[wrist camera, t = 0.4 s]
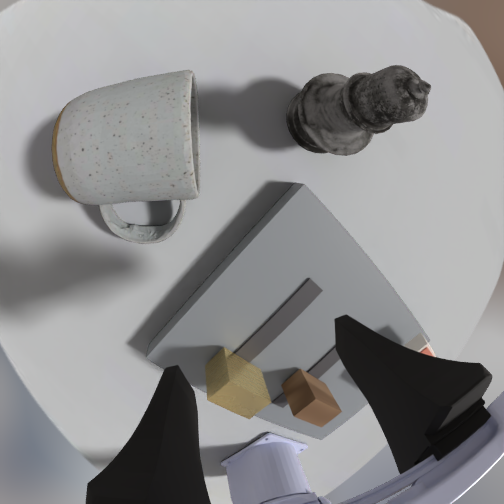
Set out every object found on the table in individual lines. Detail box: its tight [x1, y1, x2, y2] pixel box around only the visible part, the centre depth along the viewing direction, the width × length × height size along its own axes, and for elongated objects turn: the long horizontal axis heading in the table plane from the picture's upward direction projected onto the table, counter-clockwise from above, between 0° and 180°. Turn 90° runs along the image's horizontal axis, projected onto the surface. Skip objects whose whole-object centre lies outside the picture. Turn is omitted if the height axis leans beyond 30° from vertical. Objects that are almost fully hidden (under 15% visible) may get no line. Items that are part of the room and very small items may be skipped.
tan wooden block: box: [205, 347, 271, 419], centre depth 19 cm, size 2×4×4 cm, turn 47°
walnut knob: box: [281, 369, 342, 428], centre depth 21 cm, size 2×4×4 cm, turn 47°
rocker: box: [404, 333, 436, 357], centre depth 23 cm, size 7×5×2 cm
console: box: [146, 183, 430, 440], centre depth 22 cm, size 18×24×5 cm
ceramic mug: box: [52, 70, 200, 244], centre depth 14 cm, size 11×8×8 cm
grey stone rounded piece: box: [287, 65, 431, 156], centre depth 13 cm, size 6×6×12 cm
